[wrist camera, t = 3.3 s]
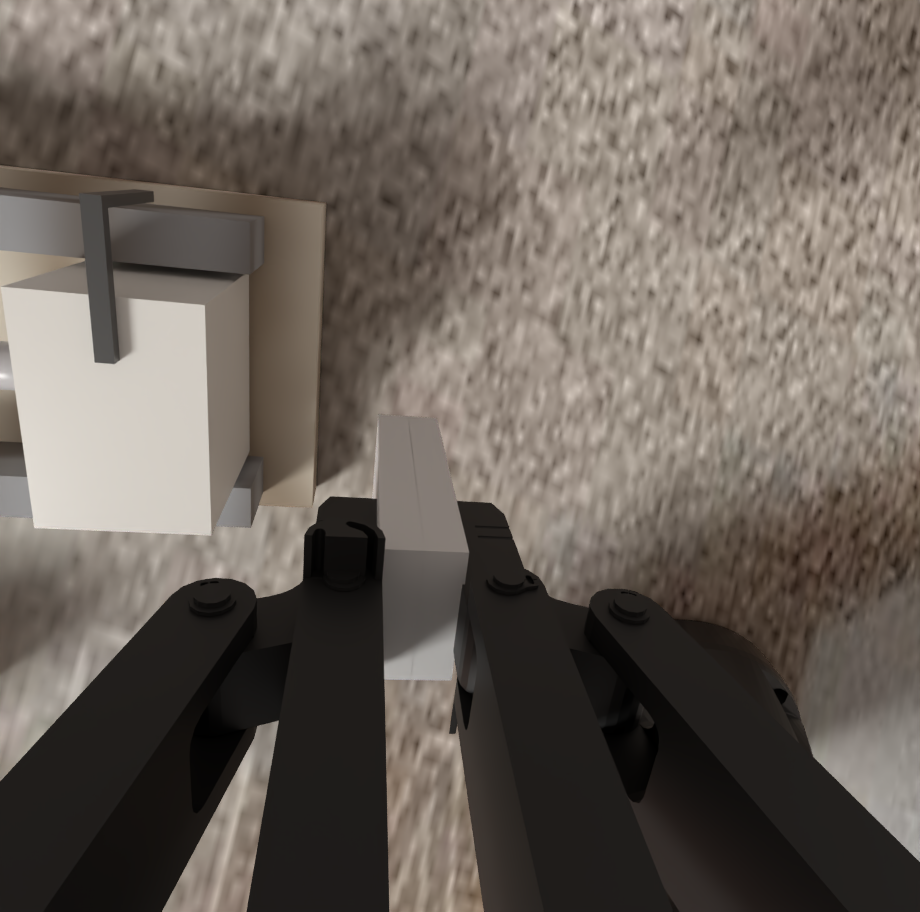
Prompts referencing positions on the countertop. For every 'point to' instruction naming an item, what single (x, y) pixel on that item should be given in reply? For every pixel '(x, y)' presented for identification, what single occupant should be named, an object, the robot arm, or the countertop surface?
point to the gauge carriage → (128, 386)
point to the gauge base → (267, 322)
